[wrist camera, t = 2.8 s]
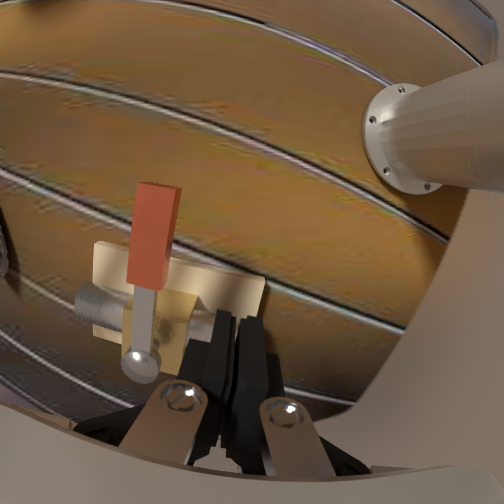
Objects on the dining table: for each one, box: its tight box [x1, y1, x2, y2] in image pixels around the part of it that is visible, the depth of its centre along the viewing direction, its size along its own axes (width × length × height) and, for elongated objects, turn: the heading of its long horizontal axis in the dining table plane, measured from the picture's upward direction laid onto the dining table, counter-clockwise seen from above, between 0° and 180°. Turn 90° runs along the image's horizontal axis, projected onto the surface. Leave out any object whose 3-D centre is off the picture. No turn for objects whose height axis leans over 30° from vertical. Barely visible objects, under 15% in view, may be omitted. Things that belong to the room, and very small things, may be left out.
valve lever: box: [121, 182, 182, 384], centre depth 21 cm, size 16×3×2 cm, turn 167°
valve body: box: [75, 281, 240, 375], centre depth 28 cm, size 19×6×8 cm, turn 77°
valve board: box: [93, 241, 265, 344], centre depth 33 cm, size 19×12×2 cm, turn 77°
